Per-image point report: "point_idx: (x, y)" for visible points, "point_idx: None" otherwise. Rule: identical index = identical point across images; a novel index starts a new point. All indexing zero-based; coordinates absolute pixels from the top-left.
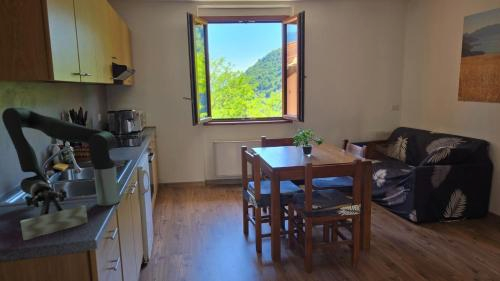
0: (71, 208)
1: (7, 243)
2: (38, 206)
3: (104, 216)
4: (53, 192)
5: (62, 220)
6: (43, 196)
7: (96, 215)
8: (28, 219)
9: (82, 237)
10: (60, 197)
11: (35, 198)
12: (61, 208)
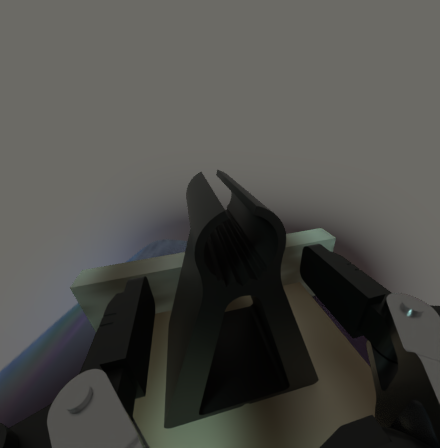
0: (140, 271)
1: None
2: (302, 272)
3: (15, 363)
4: (191, 187)
5: None
6: (352, 425)
7: (11, 410)
8: (306, 238)
9: (170, 248)
10: (146, 289)
11: (406, 323)
12: (179, 278)
